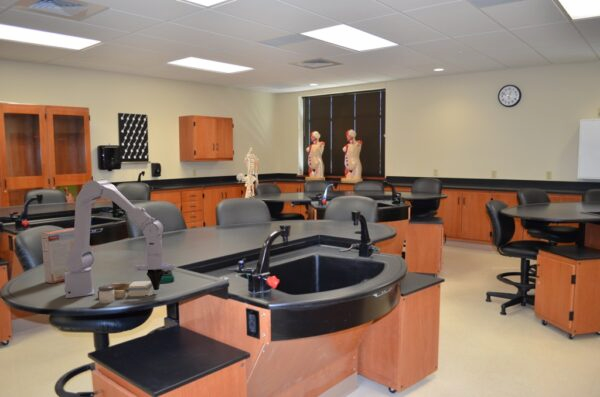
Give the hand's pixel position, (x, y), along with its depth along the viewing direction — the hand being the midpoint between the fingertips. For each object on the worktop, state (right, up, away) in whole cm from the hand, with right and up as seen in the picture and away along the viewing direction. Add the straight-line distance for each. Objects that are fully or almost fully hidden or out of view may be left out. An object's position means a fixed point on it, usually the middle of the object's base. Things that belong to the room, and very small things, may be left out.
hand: (156, 289), depth 174 cm
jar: (-15, -3, -9) cm, 17 cm away
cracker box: (-46, 0, +24) cm, 52 cm away
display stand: (-14, -2, +1) cm, 14 cm away
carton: (-6, -2, 0) cm, 6 cm away
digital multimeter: (-3, 0, +21) cm, 22 cm away
